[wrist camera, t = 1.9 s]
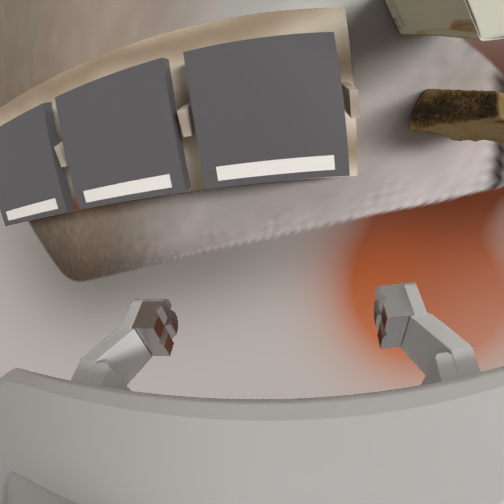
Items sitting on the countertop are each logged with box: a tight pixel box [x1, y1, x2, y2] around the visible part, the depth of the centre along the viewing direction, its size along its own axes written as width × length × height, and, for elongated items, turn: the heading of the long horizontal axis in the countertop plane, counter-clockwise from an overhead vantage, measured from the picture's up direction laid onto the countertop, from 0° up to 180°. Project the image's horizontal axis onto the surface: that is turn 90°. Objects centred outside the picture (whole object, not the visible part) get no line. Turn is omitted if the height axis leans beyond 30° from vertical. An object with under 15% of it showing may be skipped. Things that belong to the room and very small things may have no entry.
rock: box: [408, 89, 504, 143], centre depth 21 cm, size 11×9×10 cm
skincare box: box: [385, 0, 504, 41], centre depth 13 cm, size 6×4×12 cm
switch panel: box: [0, 8, 360, 221], centre depth 24 cm, size 14×36×6 cm, turn 99°
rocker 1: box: [0, 102, 75, 226], centre depth 23 cm, size 10×10×1 cm
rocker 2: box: [183, 32, 350, 189], centre depth 20 cm, size 10×10×1 cm
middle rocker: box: [55, 58, 191, 210], centre depth 22 cm, size 10×10×1 cm
